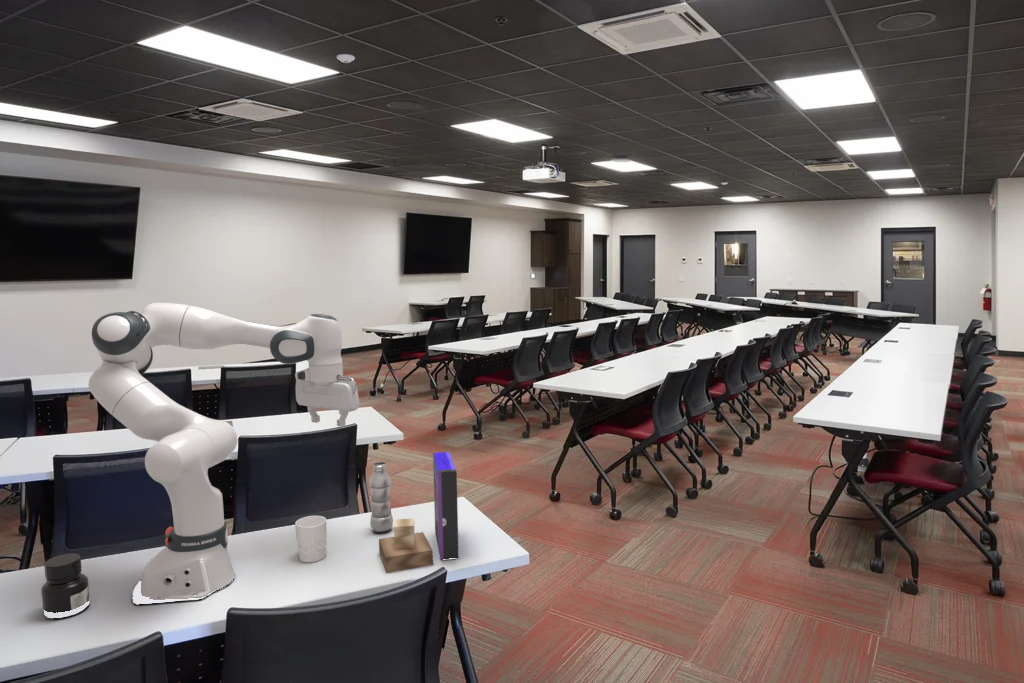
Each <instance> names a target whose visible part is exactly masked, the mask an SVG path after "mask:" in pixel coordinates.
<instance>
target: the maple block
mask: <svg viewBox="0 0 1024 683" xmlns="http://www.w3.org/2000/svg"><path fill="white" fill-rule="evenodd" d="M393 523H394V524H393V537H394V543H395V549H406V548H414V544H415V533H416V532H415V518H413V517H412V518H397V519H394V522H393Z"/></svg>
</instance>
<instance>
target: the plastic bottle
mask: <svg viewBox="0 0 1024 683" xmlns="http://www.w3.org/2000/svg"><path fill="white" fill-rule="evenodd" d="M372 467H373V468H372V472H373V473H372V475H371V476H370V478H369V479H368V480H369V481H368V485H369V490H370V499H371V516H370V527H371V529H372V531H373V532H375V533H385V532H387V531H390V530H391V529H392V527H393V526H394V524H393V523H394V519H393V514H392V509H391V491H392V490H391V488H392V479H391V477H390V475H389V473H388V472H386V470H387V464H386V462H384V461H377V462H373V464H372Z"/></svg>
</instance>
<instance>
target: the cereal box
mask: <svg viewBox="0 0 1024 683" xmlns="http://www.w3.org/2000/svg"><path fill="white" fill-rule="evenodd" d="M432 460H433V461H432V463H433V464H432V466H433V467H432V468H433V469H432V470H433V497H434V499H433V502H434V504H433V505H434V534H435V540H436V544H437V548H438V550H439V551H438V555H440V556H439V560H442V561H444V560H443V559H449V558H459V554H460V553H459V523H458V522H459V521H458V518H459V516H458V480H457V479H458V477H457V476H458V474H457V469H456V466H455V463H454V460H453V456H452V454H451V452H450V451H447V452H446V451H441V452H434V453H432Z"/></svg>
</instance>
